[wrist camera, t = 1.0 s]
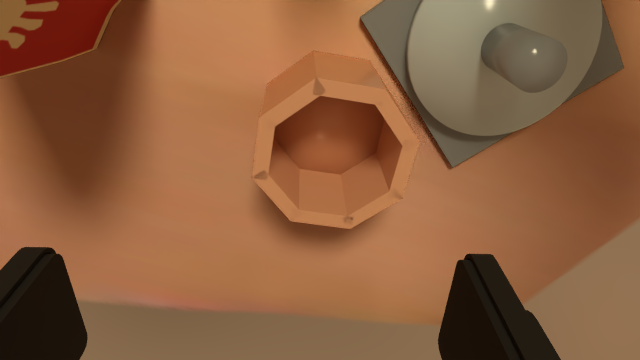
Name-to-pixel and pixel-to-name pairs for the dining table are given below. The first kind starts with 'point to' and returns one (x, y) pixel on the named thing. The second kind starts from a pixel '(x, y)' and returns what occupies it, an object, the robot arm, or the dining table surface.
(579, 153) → the dining table surface
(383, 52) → the mat
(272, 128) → the bowl
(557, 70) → the lid
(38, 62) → the milk carton
